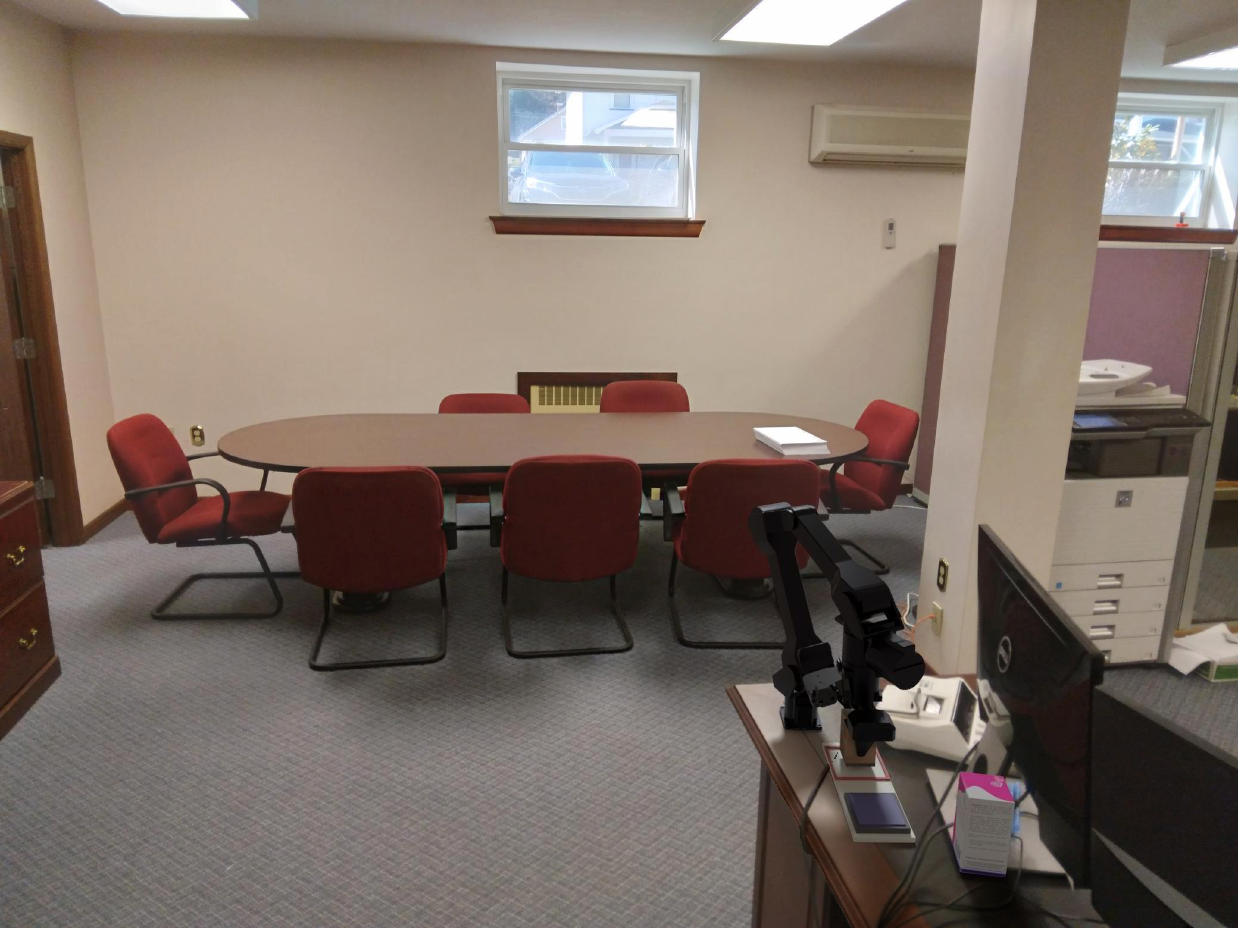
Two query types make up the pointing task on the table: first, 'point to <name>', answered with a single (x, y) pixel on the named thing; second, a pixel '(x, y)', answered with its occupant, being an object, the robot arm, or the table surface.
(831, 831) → the table surface
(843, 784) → the blotter board
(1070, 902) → the table surface
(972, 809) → the supplement box
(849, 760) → the stamp
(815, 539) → the robot arm
